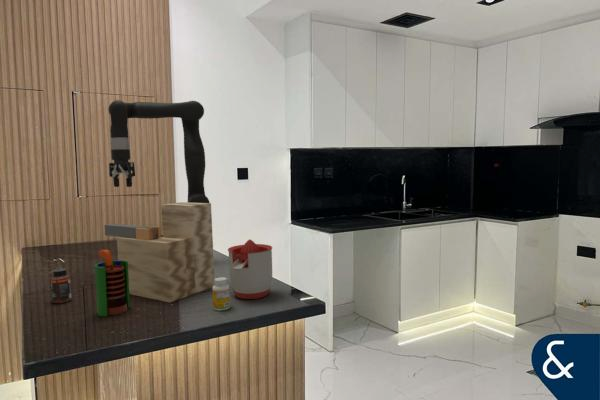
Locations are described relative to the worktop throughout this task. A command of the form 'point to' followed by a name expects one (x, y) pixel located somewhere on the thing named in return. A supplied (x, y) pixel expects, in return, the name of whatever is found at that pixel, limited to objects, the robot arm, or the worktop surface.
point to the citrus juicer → (250, 269)
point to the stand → (172, 255)
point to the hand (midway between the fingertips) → (122, 186)
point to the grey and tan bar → (133, 231)
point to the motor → (111, 285)
